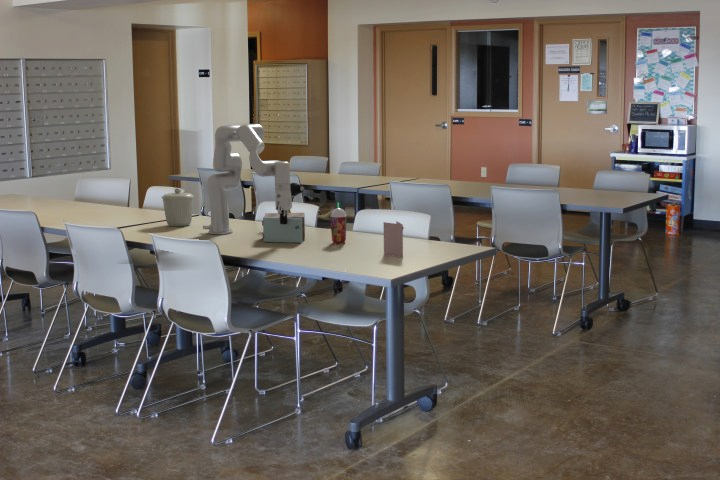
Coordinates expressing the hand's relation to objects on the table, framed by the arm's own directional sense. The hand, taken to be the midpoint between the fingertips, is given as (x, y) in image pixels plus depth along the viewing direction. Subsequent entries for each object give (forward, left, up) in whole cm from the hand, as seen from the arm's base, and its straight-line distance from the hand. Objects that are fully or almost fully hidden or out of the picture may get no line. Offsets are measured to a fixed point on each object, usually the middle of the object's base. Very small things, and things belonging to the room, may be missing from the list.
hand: (283, 223), depth 465 cm
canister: (-61, +68, -10) cm, 92 cm away
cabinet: (0, +15, -10) cm, 18 cm away
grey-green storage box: (-1, +2, -9) cm, 10 cm away
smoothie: (+27, -2, -10) cm, 29 cm away
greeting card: (+51, -39, -10) cm, 65 cm away
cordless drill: (+3, +48, -10) cm, 49 cm away
